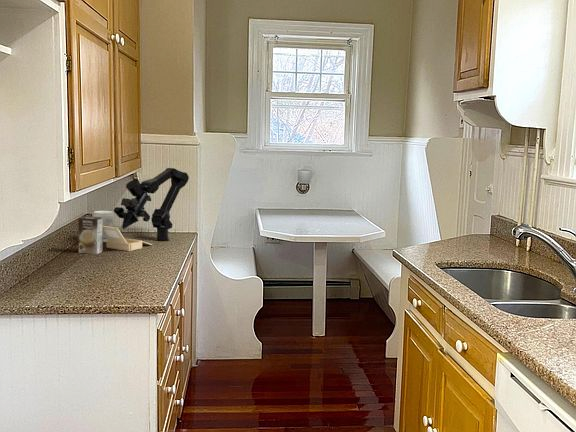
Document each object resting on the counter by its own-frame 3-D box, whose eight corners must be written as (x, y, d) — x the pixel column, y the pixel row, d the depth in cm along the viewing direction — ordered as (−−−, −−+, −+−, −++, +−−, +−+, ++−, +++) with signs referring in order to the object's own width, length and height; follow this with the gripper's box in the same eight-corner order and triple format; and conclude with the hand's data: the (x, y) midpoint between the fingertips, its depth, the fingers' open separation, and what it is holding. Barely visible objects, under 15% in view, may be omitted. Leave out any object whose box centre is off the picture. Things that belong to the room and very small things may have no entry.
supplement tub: (89, 241, 298) (88, 212, 296) (101, 238, 307) (101, 210, 305) (105, 243, 295) (105, 213, 293) (117, 240, 304) (117, 211, 302)
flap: (98, 225, 277) (97, 225, 276) (117, 227, 271) (116, 228, 271) (108, 239, 283) (107, 240, 283) (127, 242, 277) (126, 243, 277)
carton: (131, 242, 300) (131, 234, 299) (154, 245, 293) (154, 238, 292) (105, 247, 284) (105, 239, 284) (129, 251, 277) (129, 243, 277)
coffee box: (77, 253, 270) (77, 217, 268) (84, 250, 277) (83, 215, 274) (97, 254, 270) (97, 218, 267) (103, 251, 276) (102, 216, 274)
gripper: (115, 190, 289) (99, 215, 281) (145, 193, 280) (129, 219, 272) (127, 204, 297) (111, 229, 289) (157, 208, 288) (141, 234, 281)
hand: (123, 228), depth 283 cm, fingers closed
